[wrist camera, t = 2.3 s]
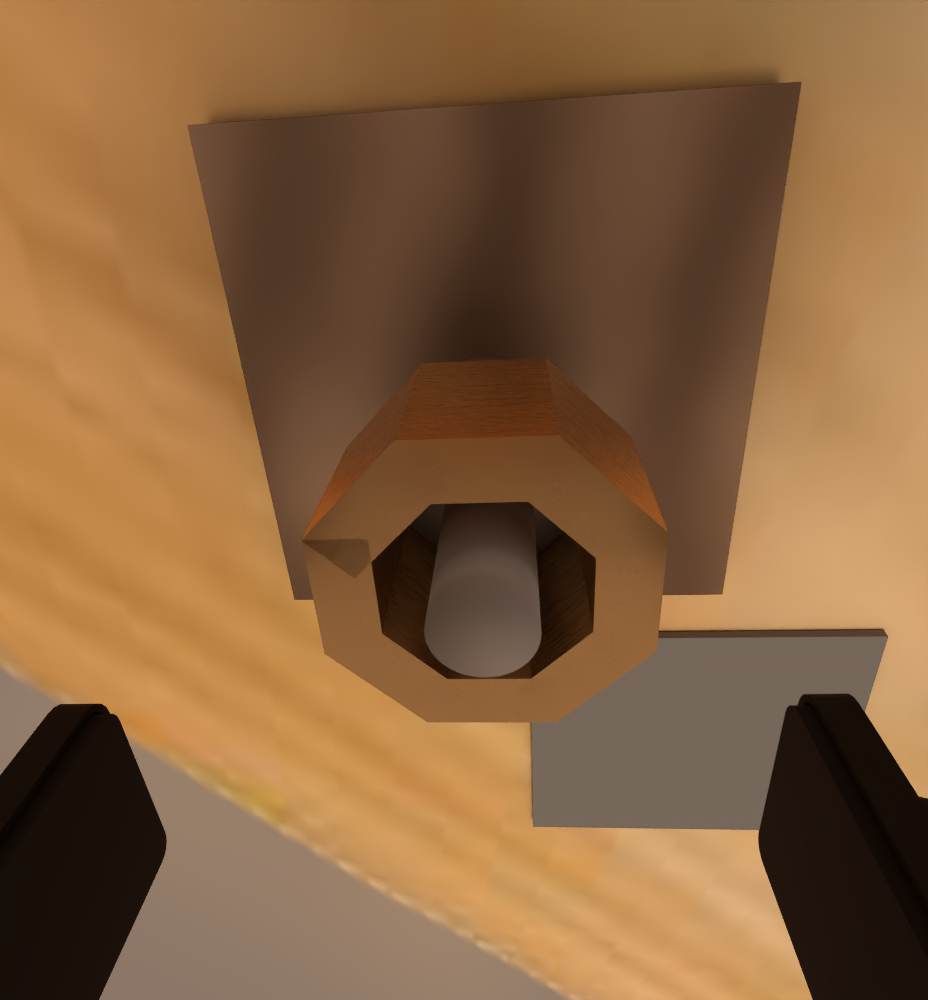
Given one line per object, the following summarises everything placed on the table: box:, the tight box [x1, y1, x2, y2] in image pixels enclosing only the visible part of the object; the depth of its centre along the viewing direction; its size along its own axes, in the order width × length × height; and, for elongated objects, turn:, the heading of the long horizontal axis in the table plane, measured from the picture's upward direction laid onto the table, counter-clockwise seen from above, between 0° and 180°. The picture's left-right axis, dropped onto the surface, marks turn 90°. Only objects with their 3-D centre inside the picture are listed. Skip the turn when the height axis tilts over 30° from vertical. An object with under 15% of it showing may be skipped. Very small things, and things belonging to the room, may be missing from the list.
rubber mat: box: [531, 630, 888, 830], centre depth 30 cm, size 14×12×1 cm
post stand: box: [188, 82, 801, 677], centre depth 17 cm, size 16×16×13 cm
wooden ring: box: [301, 358, 669, 722], centre depth 14 cm, size 6×6×4 cm
